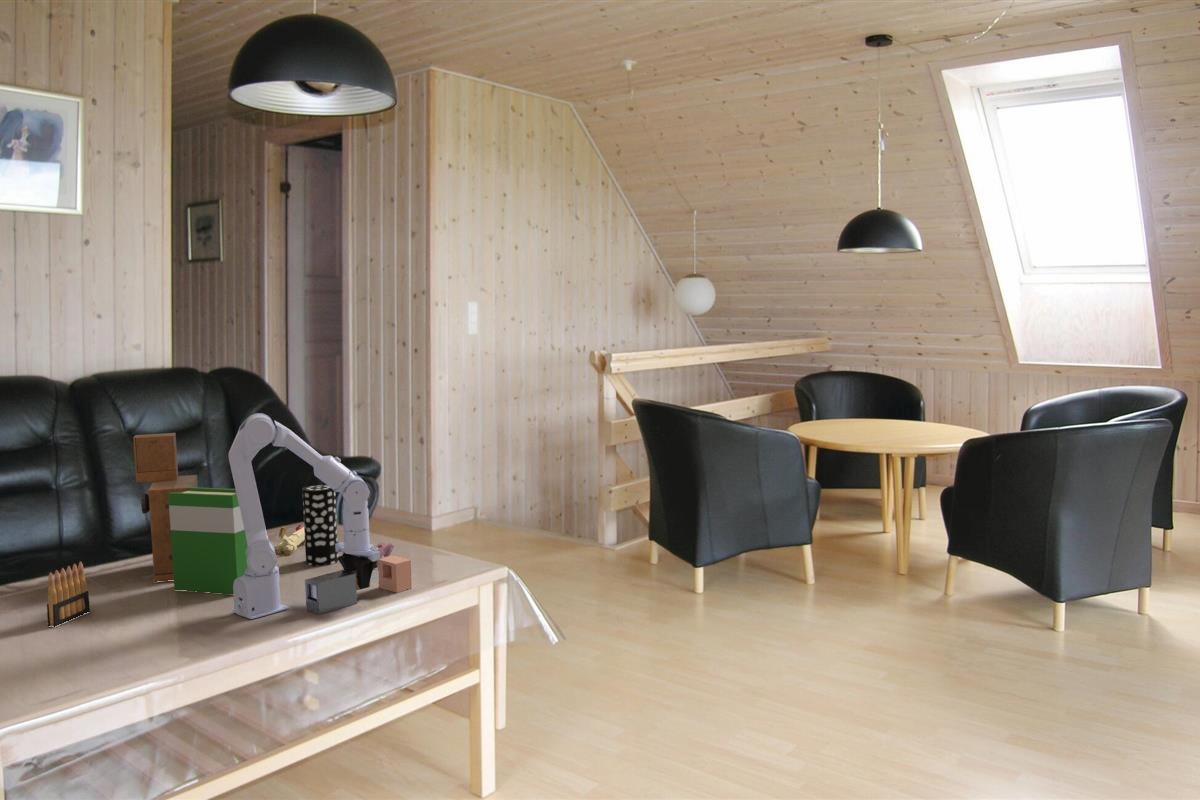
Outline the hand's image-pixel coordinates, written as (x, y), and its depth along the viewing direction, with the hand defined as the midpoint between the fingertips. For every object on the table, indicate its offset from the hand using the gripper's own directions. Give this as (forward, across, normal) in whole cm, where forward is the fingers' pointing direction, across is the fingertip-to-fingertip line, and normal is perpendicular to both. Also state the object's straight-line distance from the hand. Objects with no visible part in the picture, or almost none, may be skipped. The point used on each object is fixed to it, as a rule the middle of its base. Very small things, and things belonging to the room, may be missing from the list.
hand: (358, 586), depth 227 cm
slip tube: (0, 0, +3) cm, 4 cm away
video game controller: (+3, +21, -21) cm, 30 cm away
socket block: (+3, 0, -10) cm, 11 cm away
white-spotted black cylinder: (+3, +35, -14) cm, 38 cm away
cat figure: (+3, +56, -22) cm, 60 cm away
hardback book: (+3, +35, +16) cm, 39 cm away
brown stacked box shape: (+3, +59, +14) cm, 61 cm away
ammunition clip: (+3, +39, +48) cm, 62 cm away
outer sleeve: (+3, 0, +8) cm, 8 cm away
